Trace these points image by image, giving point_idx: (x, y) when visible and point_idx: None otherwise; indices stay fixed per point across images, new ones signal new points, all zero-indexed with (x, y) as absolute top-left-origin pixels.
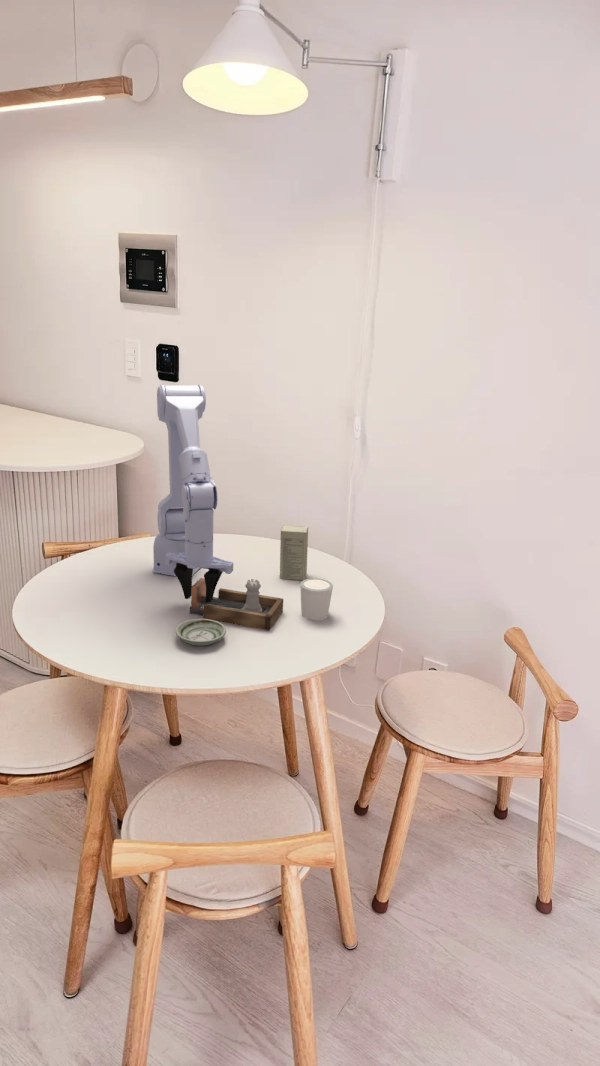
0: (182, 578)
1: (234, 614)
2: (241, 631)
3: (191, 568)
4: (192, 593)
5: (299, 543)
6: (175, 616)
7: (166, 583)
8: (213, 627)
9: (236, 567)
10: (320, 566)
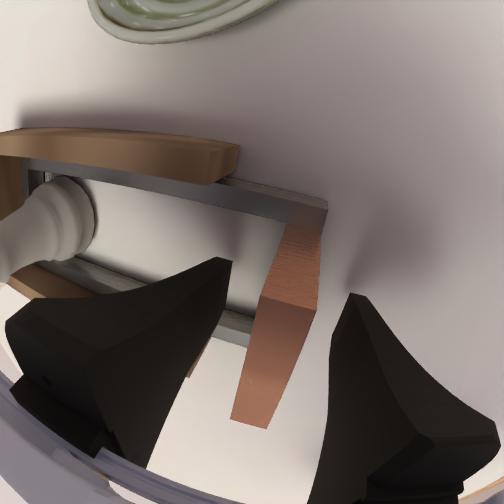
0: (409, 390)
1: (66, 133)
2: (74, 84)
3: (321, 491)
4: (309, 272)
5: None
6: (396, 157)
7: None
8: (149, 19)
9: (229, 474)
10: None
